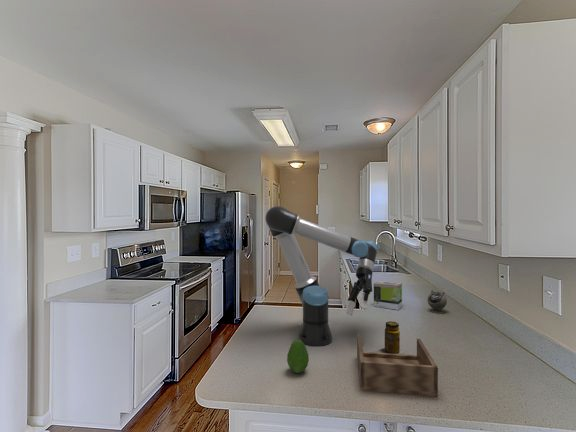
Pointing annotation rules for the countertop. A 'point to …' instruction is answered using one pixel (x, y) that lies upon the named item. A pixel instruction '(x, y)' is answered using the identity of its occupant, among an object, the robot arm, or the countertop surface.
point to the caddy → (398, 371)
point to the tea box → (388, 295)
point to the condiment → (392, 339)
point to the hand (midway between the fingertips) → (355, 311)
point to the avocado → (297, 356)
